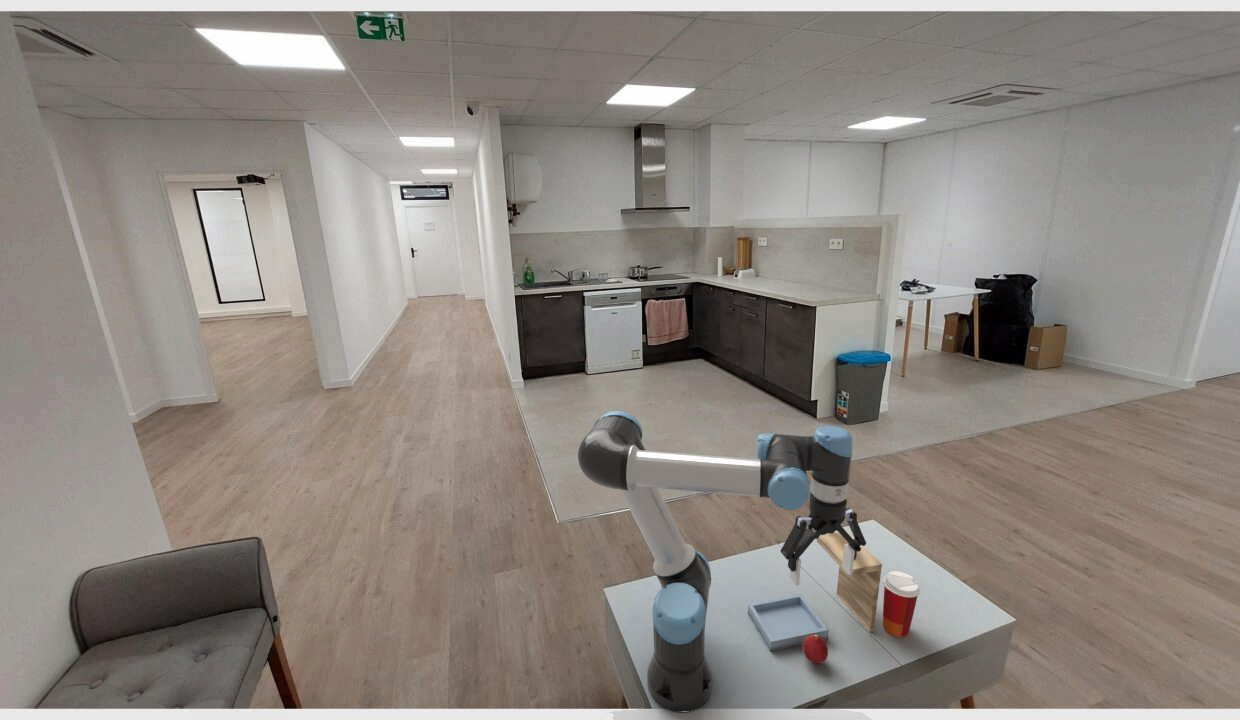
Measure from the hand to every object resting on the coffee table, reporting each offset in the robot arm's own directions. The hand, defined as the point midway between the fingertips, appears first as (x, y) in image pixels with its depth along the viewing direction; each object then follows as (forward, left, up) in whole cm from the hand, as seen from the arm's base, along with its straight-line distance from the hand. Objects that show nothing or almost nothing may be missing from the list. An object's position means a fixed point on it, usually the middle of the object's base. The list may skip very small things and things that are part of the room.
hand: (821, 576), depth 113 cm
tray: (-1, +11, -25) cm, 27 cm away
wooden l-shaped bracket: (+15, +11, -25) cm, 31 cm away
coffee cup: (+26, +4, -25) cm, 36 cm away
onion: (0, 0, -25) cm, 25 cm away
